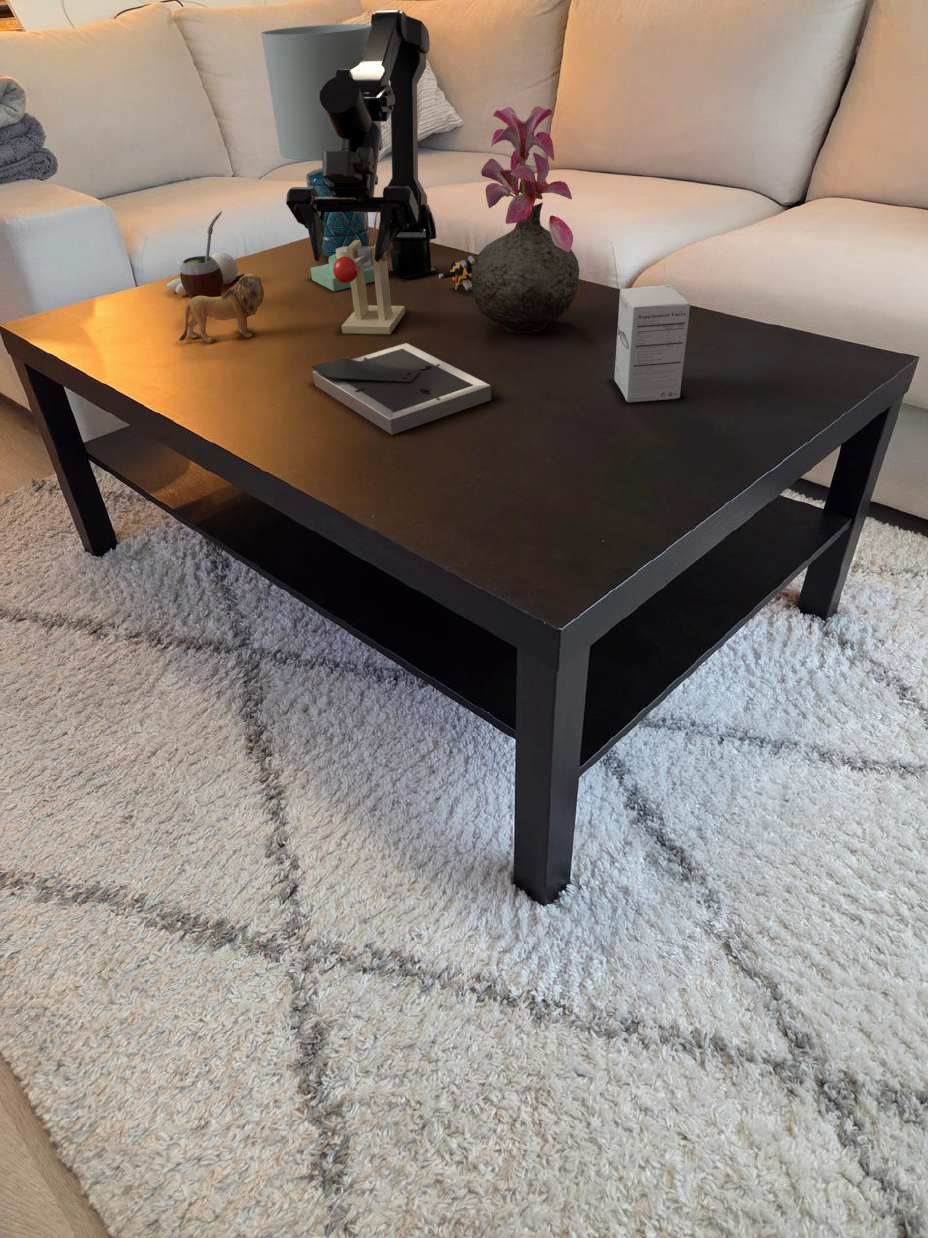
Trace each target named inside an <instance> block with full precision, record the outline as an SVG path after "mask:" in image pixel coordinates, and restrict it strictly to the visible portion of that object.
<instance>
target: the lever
mask: <svg viewBox="0 0 928 1238" xmlns="http://www.w3.org/2000/svg"><path fill="white" fill-rule="evenodd" d="M372 247H373V246H370V245H369V246H362V247H361V248H359V249H357V254H358V257H356V258H355V259H351V258H349V257H340V258H338V259H337V260H336V261H335V263H334V265H333V273H334V276H335V277H336V279H337V280H339V281H340V282H342V283H350V282H352V281H353V280H354V279H355V278H356V276H357V273H358V267H360V266H373V260H372V251H371V248H372Z"/></svg>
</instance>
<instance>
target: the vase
mask: <svg viewBox="0 0 928 1238" xmlns="http://www.w3.org/2000/svg"><path fill="white" fill-rule="evenodd" d="M552 115H553V110H551V108H547V109H546V108H543V107H542V106H535V107H534V108H533V109H531V112H530V114H529V116H528V118H527V119H526V120H524V121H523V120H522V119H520V117H518V115H517V113H516V110H514V109H513V108H512V106H506V107H504V108H503V109H501V110H499V109H498V110H497V109H496V110H495V111H494V112H493V117H494V118H497V119H499V120H501V121H502V122H503V123H505V124H506V125H507V126H506V127H505V128H499V129H496V130H495V131H494V133H493V134H492V139H491V144H490V147H493V146H494V145H496V144H497V143H500V142H502V141H508V142H510V143H511V145H512V147H513V148H514V151H513V152H512V154H511V156H510V164H509V165H510V166H509V167H510V169H504V168H503V166H502V165H501V164H500V162H499V161H497V160H496V159H494V158H489V159H488V160H487V162H485V164H483V166H482V168H481V170H480V174H481V177H485V178H487V179H491V180H492V181H493V180H494V181H495V182H490V183H489V184H487V185H486V187H485V198H486V202H487V207H488V209H491V208H492V207H494V206H496V205H497V204H498V203H499V202H500V200H501V199H502V198H504V197H506V198H509V197H511V198H512V199H511V200H510V202H509V204H508V206H507V211H506V217H505V224H506V225H509V224H515V226H514V228H513V229H512V230H510V231H509V232H507V233H506V234H504V235H502V236H500V237H498V238H496V239H495V240H493V241H491V242H489V243H488V244H486V245H485V247H484V248H483V249H482V250H481V251H480V252H479V253H478V255H477V256H475V259H474V260H475V261H474V263H472V264H471V268H472V273H471V279H472V280H471V284H472V288H473V289H472V294H473V299H474V301H475V302H474V303H475V305H476V306H477V309H478V310H479V312H480V314H482V315H483V316H485V317H486V318H488V319H489V320H490V321H493V322H495V323H497V324H499V325H501V326H503V327H504V329H505V330H506V331H508V332H511V333H517V334H531V333H532V334H533V333H537V332H541V331H542V330H544V329H545V328H546V327H547V324H549V323H551V322H553V321H555V320H556V319H558V318H559V317H561V316H562V315H564V314H565V313H566V312H567V311H568V310H569V309H570V307H571V305H572V303H573V301H574V299H575V298H576V295H577V293H578V289H579V288H578V287H579V281H580V266H579V260H578V259H577V256H576V254H575V253H574V252H573V251H574V250H572V248H573V247H572V246H573V243H574V234H573V231H572V230H571V228H570V227H569V225H568V224H567V223H566V222H565V221H564V220H563V219H561V218H560V217H558V216H555V215H550V216H549V218H548V219H549V220H548V229H549V230H548V229H546V228H545V227H544V226H542V224H541V210H542V207H543V204H544V202H543V201H542V202H540V203H537V204H535V203H536V200H537V199H538V200H543V195H542V194H557V195H559V196H561V197H563V198H567V199H568V200H573V197H572V196H573V195H572V192H571V190H570V188H569V186H568V184H567V183H566V182H565V181H561V180H557V181H551V182H550V183H548V182H547V180H546V179H547V177H548V176H549V171H550V163H549V161H548V159H546V158H545V157H543V156H542V155H540V154H538V153H536V152H533V153H532V156H533V158H534V159H533V160H534V163H535V168H536V173H535V172H534V171H533V169H531V168H530V167H528V166H527V165H526V162H527V161H528V159H529V156H530V150H531V149H532V148H533V146H537V147H538V148H540V149H541V150H542V151H543V152H544V153H545V154H546V155H547V156H548V157H549V158H550V159H551V160H552V161H553V162H554V161H555V150H554V144H553V139H552V138H551V136H550V134H549V133H547V132H545V131H541V132H537V133H536V134H535V131H536V129H537V128H538V126H539V125H540V124H541V123H542V122H543V121H544V120H545V119H547V118H548V117H551V116H552ZM519 180H520V181H519Z"/></svg>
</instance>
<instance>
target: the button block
mask: <svg viewBox="0 0 928 1238" xmlns="http://www.w3.org/2000/svg"><path fill="white" fill-rule="evenodd" d="M336 260H337V257H336V254H334V255H332V256H330V257H329V259H328V263H326V264H322V265H317V266H312V267H310V268H309V270H310V276H311V280H312V281H313V282H315V283H317V284H319V285H321V286H323V287H325V288H326V289H329V290H331V291H333V292H337V291H341V290H346V289H349V288H351V282H350V283H342V282H340V281H339V280H337V279H336V277H335V276H334V273H333V265H334V263H335V261H336ZM363 267H364V276H365V284H370V283H373V282H374V283H375V278H374V269H373V266H363Z"/></svg>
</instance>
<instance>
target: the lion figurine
mask: <svg viewBox="0 0 928 1238" xmlns="http://www.w3.org/2000/svg"><path fill="white" fill-rule="evenodd" d="M244 274H245V275H244V276H242V277H241V278H240V279H239V281H238V282H236V283H237V284H235V285H232V286H231V287H230V288H228V289H227V291H226V292H225V293H223V294H222V296H220V297H207V296H197V297H193V298H192V299H191V298H190V299H189V300H188V301H187V303H186V305H185V309H184V330H183V333H182V335H181V336H180V337H179V339H178V341H181V342H182V341H184V340H186V338H187V335H188V336H189V337H190V338H193V339H195V338H198V337H199V335H200V336H201V337H202V338H203V339H204V341H205V342H206V343H214V341H215V339H214V337H213V336H209V335H208V334H207V332H206V328H207V327H206V326H207V321H208V320H207V317H210V318H212V319H214V320H218V321H230V320H233V319H235V320H236V323H237V330H238V331H239V333H241V334H242V335H243V337H245V338H247V339H250V338H252V337H253V334H252V332H249V329H248V319H247V318H248V317H251V316H254V315H256V313H257V312H258V309H259V307H260V306H261V304H262V303H263V301H264V297H265V290H264V287H263V285H262V279H261V276H257V275H256V274H253V273H244ZM190 311H191V318H190ZM189 319H190V320H189ZM196 326H198V333H197V332H195V331H194V330H195V327H196Z"/></svg>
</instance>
